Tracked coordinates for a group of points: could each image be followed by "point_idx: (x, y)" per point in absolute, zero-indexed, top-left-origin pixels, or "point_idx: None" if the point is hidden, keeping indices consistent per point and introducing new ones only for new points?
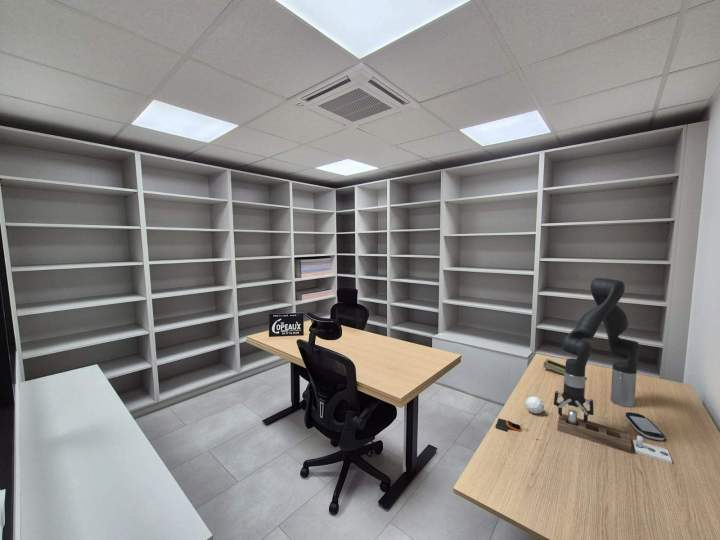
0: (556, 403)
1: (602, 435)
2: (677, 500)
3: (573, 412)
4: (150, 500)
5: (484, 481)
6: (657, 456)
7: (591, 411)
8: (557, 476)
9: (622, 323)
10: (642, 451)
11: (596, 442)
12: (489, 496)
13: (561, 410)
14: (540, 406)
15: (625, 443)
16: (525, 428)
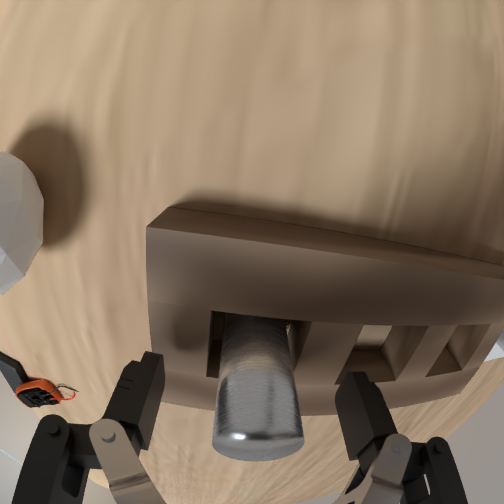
0: (85, 472)
1: (397, 395)
2: None
3: (261, 454)
4: (7, 454)
5: (107, 482)
6: (499, 355)
7: (408, 491)
8: (197, 486)
9: None
10: None
11: None
12: None
13: (148, 433)
14: (4, 285)
15: (453, 391)
16: (62, 386)
